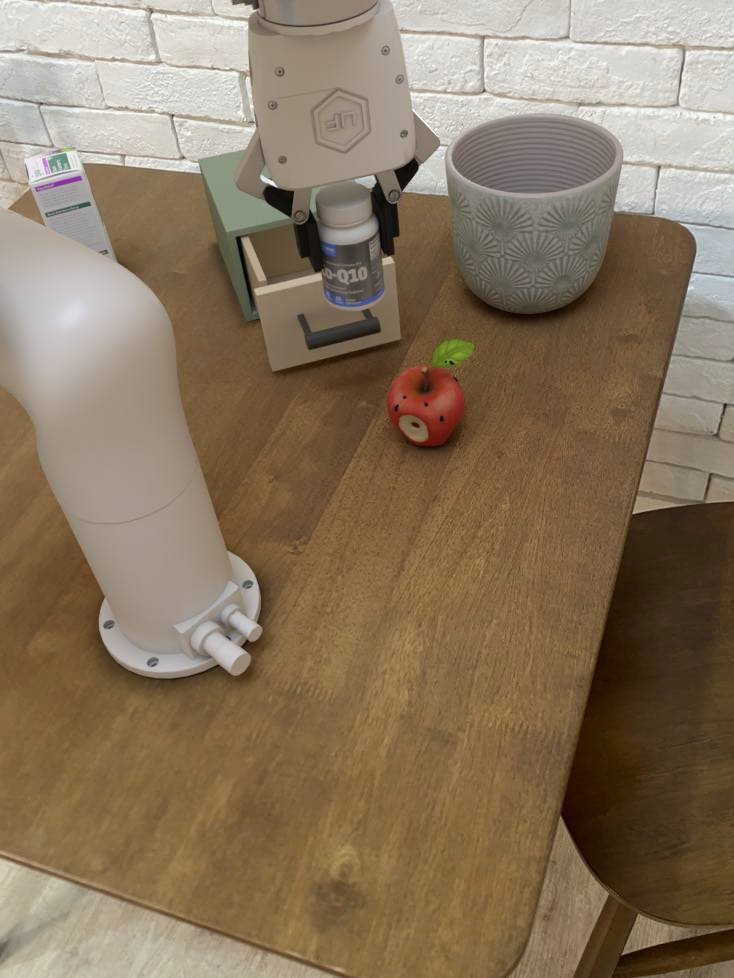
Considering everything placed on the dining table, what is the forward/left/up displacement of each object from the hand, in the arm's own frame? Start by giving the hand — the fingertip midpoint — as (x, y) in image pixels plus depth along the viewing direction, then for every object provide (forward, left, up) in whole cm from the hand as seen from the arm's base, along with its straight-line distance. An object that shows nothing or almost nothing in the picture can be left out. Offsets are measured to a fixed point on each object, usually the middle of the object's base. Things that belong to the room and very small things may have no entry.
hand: (349, 252), depth 70 cm
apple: (-3, -5, -21) cm, 21 cm away
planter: (+4, -29, -21) cm, 36 cm away
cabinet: (+28, -17, -20) cm, 39 cm away
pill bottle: (0, 0, -4) cm, 4 cm away
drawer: (+17, -10, -20) cm, 28 cm away
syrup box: (+44, -1, -21) cm, 49 cm away
